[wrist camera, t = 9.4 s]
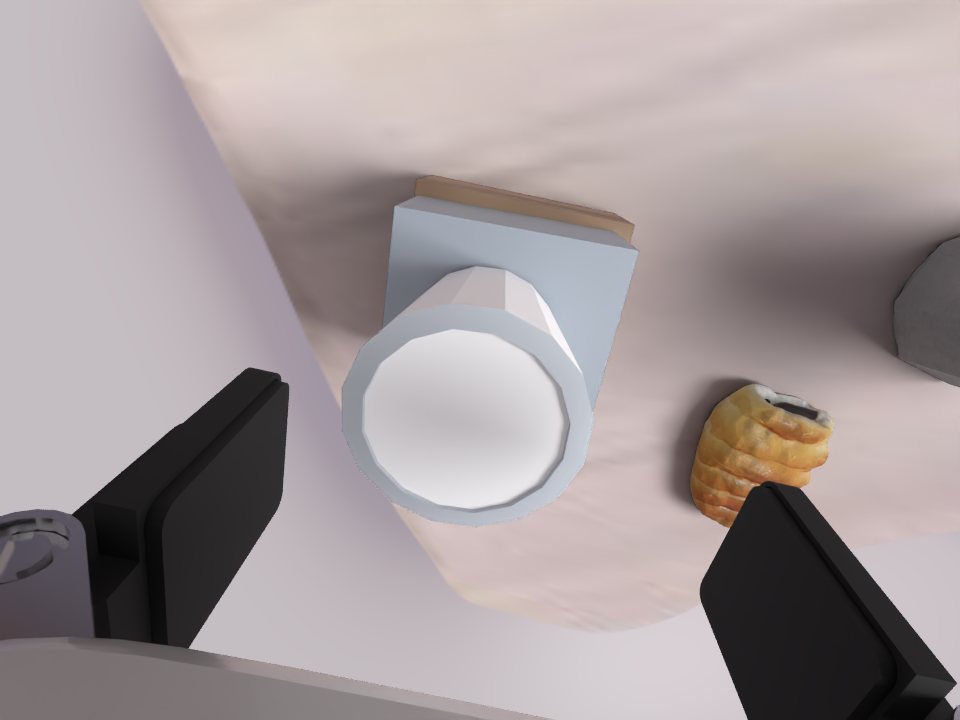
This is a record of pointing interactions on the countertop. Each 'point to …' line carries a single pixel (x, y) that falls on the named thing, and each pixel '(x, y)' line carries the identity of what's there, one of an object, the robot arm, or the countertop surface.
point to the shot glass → (469, 403)
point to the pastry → (755, 448)
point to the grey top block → (517, 267)
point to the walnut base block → (521, 204)
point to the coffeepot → (932, 315)
